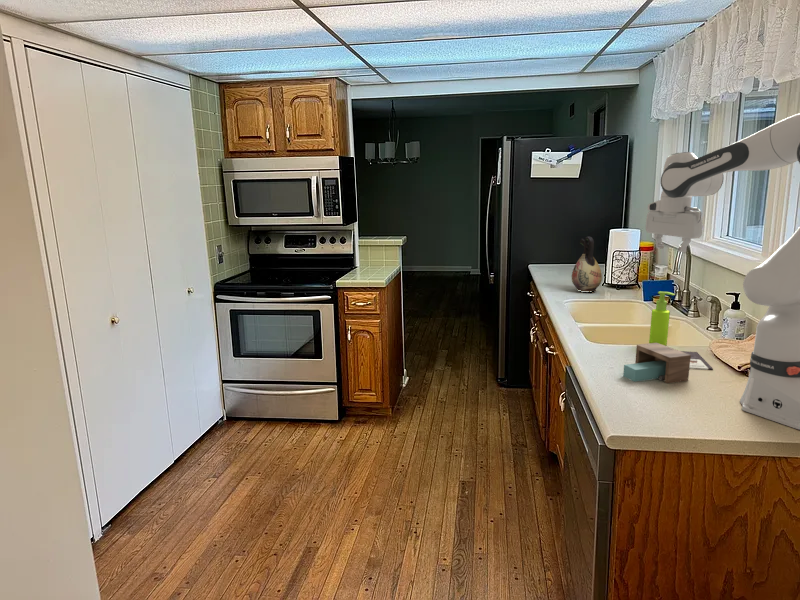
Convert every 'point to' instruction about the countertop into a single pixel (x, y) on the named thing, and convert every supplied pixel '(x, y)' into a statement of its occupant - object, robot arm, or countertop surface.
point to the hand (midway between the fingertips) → (670, 250)
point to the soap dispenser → (660, 321)
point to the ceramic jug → (587, 268)
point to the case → (644, 370)
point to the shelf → (674, 361)
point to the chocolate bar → (697, 361)
